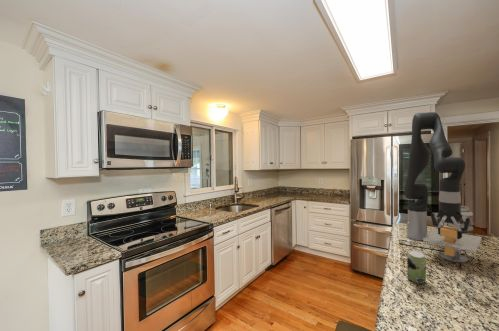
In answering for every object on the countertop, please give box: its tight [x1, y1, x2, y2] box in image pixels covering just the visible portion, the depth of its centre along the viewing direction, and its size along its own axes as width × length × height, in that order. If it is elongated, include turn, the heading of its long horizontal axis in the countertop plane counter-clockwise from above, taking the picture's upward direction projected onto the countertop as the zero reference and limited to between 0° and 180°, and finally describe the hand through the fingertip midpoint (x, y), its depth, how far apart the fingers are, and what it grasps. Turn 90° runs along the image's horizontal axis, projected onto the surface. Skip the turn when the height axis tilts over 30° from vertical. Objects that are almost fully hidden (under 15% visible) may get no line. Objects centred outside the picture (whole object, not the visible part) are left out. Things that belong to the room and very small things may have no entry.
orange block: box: [440, 225, 458, 256], centre depth 104 cm, size 6×7×12 cm
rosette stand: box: [422, 228, 482, 264], centre depth 107 cm, size 18×20×13 cm
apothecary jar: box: [446, 205, 474, 234], centre depth 137 cm, size 12×12×18 cm
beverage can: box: [406, 250, 427, 284], centre depth 91 cm, size 6×7×12 cm
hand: (449, 236), depth 104 cm, fingers closed on orange block, 5 cm apart
